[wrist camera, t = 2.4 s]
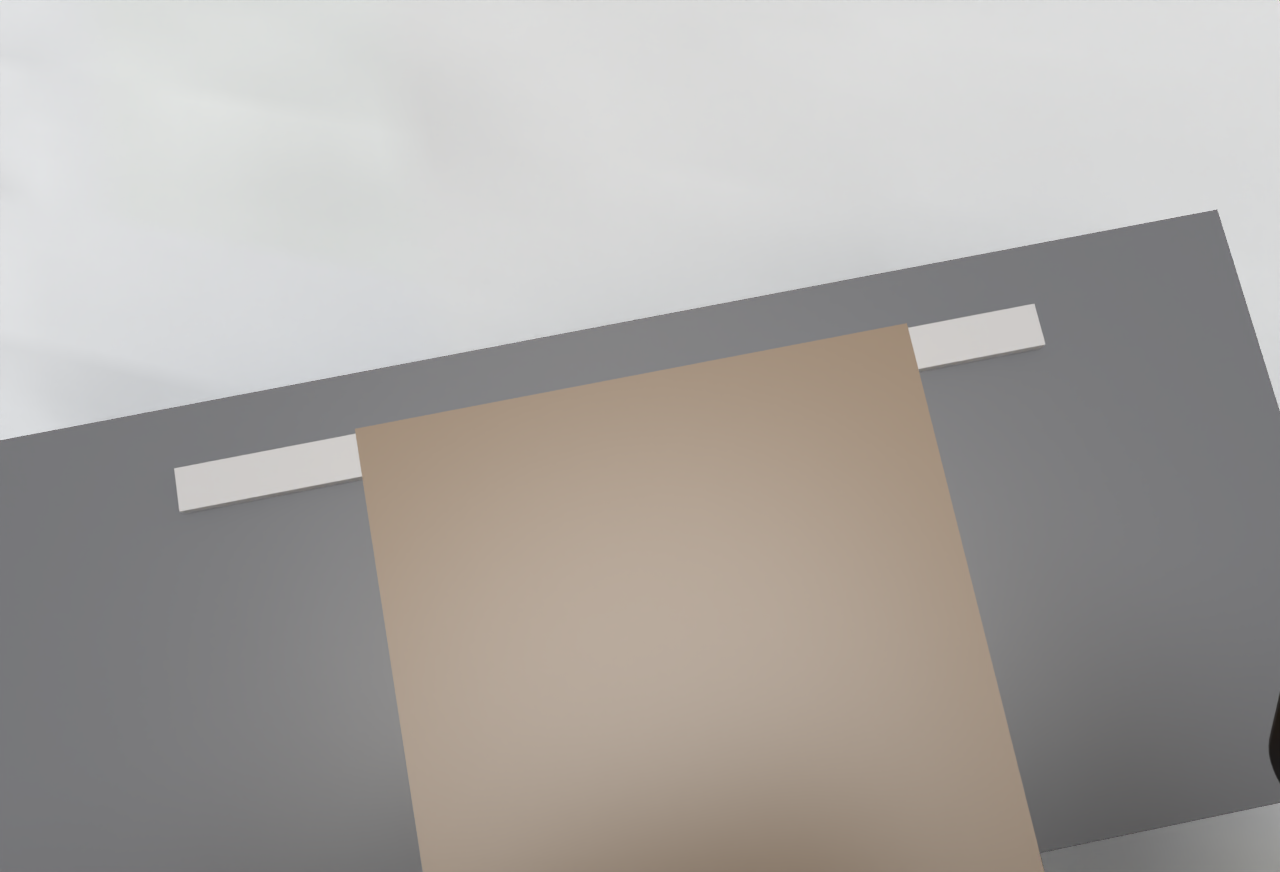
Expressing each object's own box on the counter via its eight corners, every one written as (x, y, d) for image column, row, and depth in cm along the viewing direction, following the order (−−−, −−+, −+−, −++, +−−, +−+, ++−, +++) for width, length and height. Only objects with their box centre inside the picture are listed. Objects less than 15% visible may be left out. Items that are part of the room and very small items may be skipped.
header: (1292, 766, 18) (1403, 779, 16) (95, 1014, 18) (-1, 1073, 15) (1145, 268, 20) (1223, 203, 17) (42, 479, 19) (-54, 446, 16)
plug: (824, 780, 18) (1051, 901, 8) (555, 836, 18) (448, 1028, 8) (766, 513, 19) (907, 323, 9) (507, 564, 18) (354, 428, 9)
